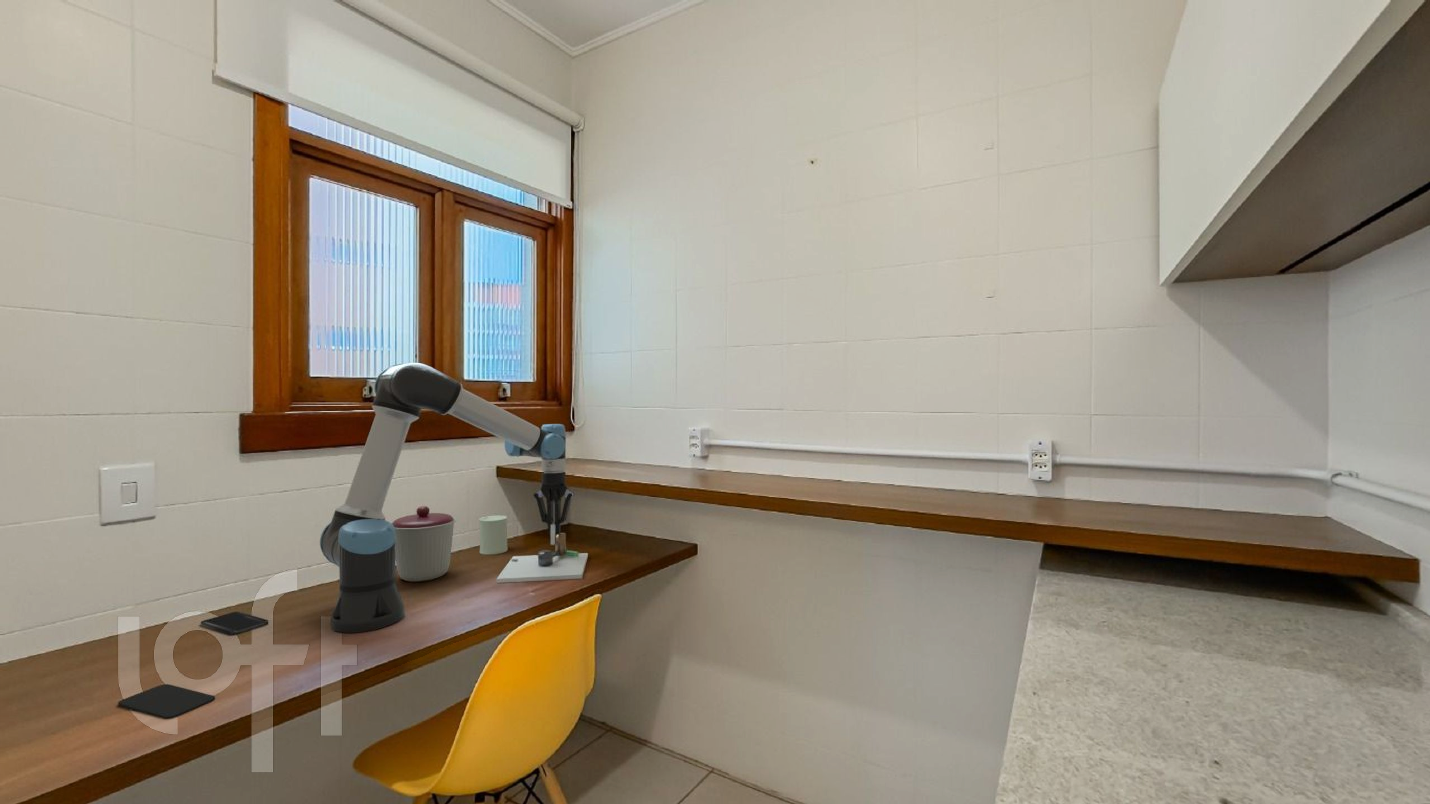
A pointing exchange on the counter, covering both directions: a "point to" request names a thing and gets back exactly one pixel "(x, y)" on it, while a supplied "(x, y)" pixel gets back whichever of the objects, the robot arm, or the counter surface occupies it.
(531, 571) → the dial plate
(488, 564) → the counter surface
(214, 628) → the phone
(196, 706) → the phone
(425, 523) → the canister
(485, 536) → the can
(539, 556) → the lever
